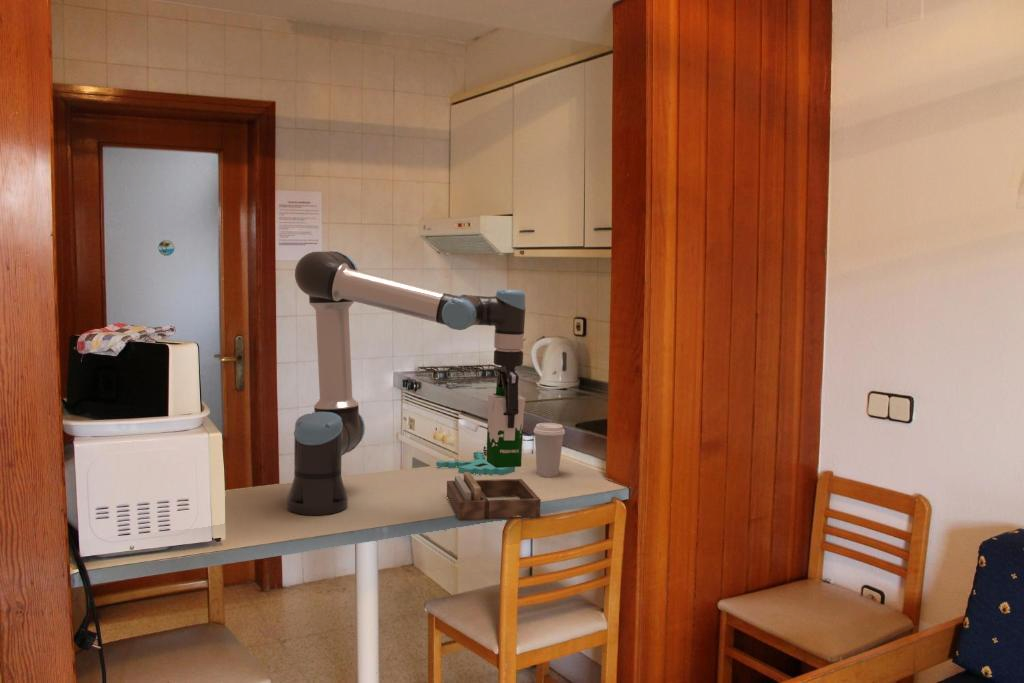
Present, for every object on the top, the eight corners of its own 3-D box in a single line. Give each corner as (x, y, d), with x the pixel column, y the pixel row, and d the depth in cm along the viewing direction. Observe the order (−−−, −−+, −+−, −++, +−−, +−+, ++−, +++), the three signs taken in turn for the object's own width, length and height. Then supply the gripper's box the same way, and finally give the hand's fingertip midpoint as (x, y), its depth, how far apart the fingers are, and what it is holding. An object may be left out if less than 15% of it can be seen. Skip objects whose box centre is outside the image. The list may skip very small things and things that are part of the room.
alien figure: (436, 468, 267) (487, 481, 255) (436, 461, 267) (487, 473, 255) (477, 458, 283) (527, 468, 271) (478, 451, 283) (527, 461, 271)
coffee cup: (526, 471, 266) (528, 423, 264) (555, 469, 270) (556, 421, 268) (539, 479, 257) (541, 429, 256) (568, 477, 261) (570, 427, 259)
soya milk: (513, 459, 233) (516, 385, 231) (526, 467, 225) (529, 390, 223) (482, 460, 230) (485, 385, 228) (494, 469, 222) (497, 391, 220)
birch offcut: (473, 517, 219) (475, 488, 218) (462, 499, 234) (463, 472, 234) (479, 517, 219) (480, 488, 218) (468, 499, 235) (469, 472, 234)
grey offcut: (464, 518, 218) (465, 492, 218) (453, 499, 234) (454, 476, 233) (470, 517, 219) (471, 492, 218) (459, 499, 234) (460, 476, 233)
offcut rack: (459, 520, 216) (459, 502, 215) (446, 497, 235) (447, 480, 235) (540, 517, 220) (540, 499, 220) (520, 494, 240) (521, 478, 240)
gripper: (533, 355, 215) (529, 445, 217) (513, 345, 236) (509, 427, 238) (503, 354, 213) (499, 445, 215) (486, 344, 234) (482, 427, 236)
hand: (505, 435), depth 227 cm, fingers closed on soya milk, 9 cm apart
